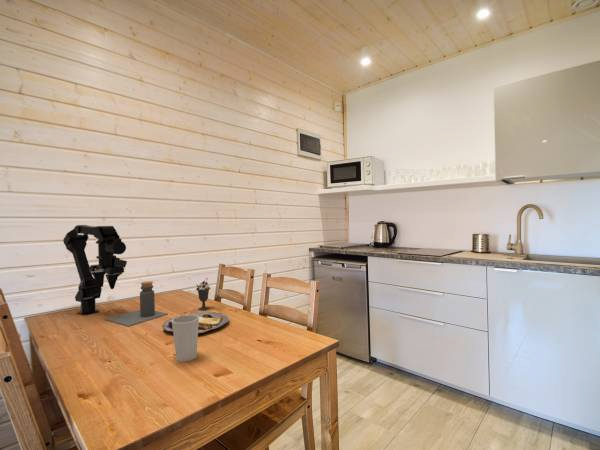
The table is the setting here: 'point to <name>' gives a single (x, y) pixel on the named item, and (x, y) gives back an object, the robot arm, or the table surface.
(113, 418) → the table surface
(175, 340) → the cup
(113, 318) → the mat
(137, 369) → the table surface
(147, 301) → the bottle
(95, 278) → the robot arm
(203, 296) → the sundae
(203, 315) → the food plate
